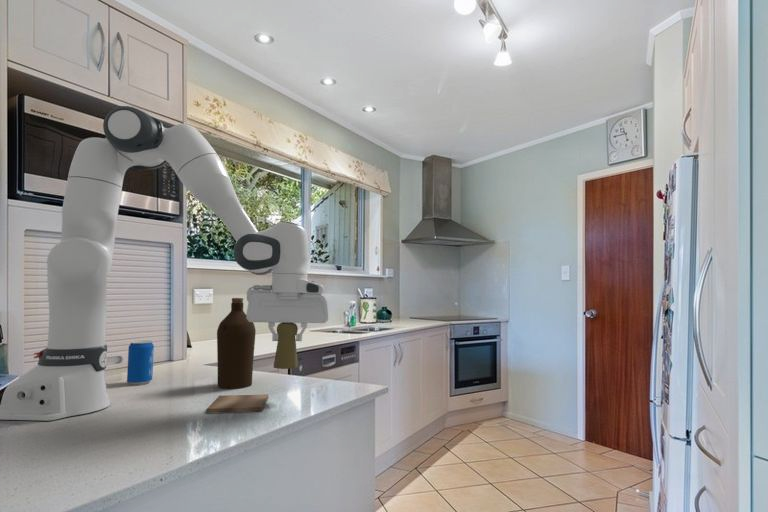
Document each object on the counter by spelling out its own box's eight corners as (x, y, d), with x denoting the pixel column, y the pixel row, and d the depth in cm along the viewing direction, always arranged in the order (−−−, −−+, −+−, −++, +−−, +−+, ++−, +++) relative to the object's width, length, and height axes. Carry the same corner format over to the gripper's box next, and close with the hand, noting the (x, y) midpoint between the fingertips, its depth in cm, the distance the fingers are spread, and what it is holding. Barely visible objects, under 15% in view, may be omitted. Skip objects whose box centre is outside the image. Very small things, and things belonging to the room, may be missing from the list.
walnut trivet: (206, 413, 98) (207, 408, 98) (219, 399, 110) (219, 395, 110) (261, 411, 100) (262, 407, 100) (268, 398, 112) (268, 394, 112)
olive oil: (251, 389, 122) (254, 298, 124) (211, 390, 120) (214, 298, 122) (256, 380, 132) (258, 297, 134) (219, 381, 131) (222, 297, 132)
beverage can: (144, 385, 125) (146, 343, 126) (121, 385, 125) (124, 342, 126) (156, 380, 131) (158, 340, 132) (135, 380, 132) (136, 340, 132)
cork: (291, 369, 106) (293, 323, 107) (268, 367, 108) (270, 322, 108) (301, 365, 112) (303, 322, 113) (280, 364, 113) (281, 321, 114)
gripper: (245, 284, 107) (242, 342, 106) (329, 286, 110) (327, 342, 109) (249, 284, 113) (246, 339, 112) (329, 286, 116) (327, 339, 115)
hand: (287, 340), depth 110 cm, fingers closed on cork, 4 cm apart
